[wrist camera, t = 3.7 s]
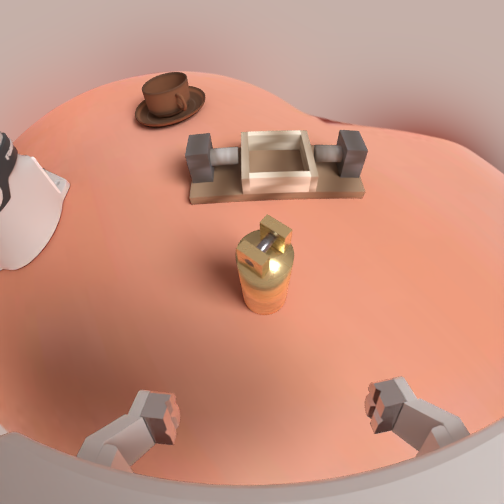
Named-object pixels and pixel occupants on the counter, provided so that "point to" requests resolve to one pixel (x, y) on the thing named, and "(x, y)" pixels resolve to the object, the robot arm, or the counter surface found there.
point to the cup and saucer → (168, 100)
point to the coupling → (265, 266)
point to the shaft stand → (275, 167)
